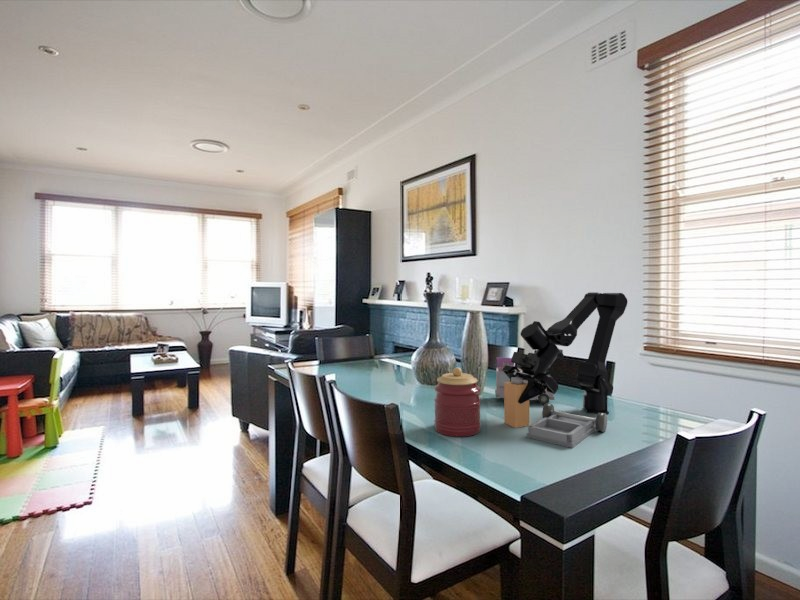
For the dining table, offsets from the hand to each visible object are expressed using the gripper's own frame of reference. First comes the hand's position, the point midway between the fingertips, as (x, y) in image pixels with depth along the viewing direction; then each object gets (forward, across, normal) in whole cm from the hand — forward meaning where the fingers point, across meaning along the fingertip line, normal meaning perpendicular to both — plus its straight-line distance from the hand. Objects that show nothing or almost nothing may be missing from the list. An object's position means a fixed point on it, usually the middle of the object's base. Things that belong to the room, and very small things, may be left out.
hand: (512, 400), depth 124 cm
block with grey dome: (+4, 0, +6) cm, 7 cm away
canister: (+17, -3, -7) cm, 19 cm away
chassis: (-1, +11, +11) cm, 16 cm away
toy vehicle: (-10, -20, +20) cm, 30 cm away
